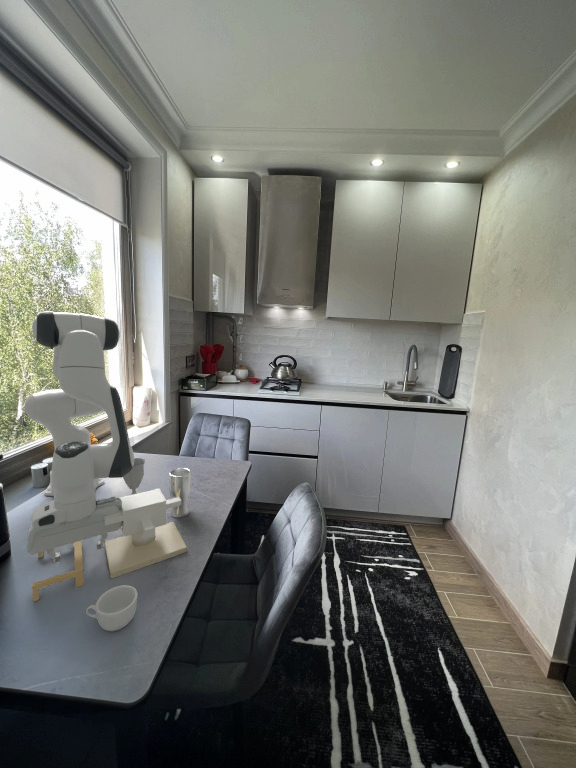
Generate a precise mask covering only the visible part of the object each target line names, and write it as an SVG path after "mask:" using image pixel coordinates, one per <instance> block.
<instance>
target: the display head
mask: <svg viewBox="0 0 576 768" xmlns="http://www.w3.org/2000/svg"><path fill="white" fill-rule="evenodd" d="M136 493H137V492H136ZM119 498H120V499H121V501H122V505H121V510H120V512H119V513H116V514H112V515H106V516H104V523H105V526H106V525H110V524H113V523H117V522H121V521H122V526H121V527H120V528H121V531H122V535H123V536H119V537H115V538H112V539H108V540H105V541H104V547H105V553H106V554H105V555H106V560H107V564H108V565H107V566H108V571H109V577H110V579H115V578H117V577H120V576H123V575H126V574H128V573H132V572H134V571H137V570H139V569H142V568H145V567H148V566H151V565H154V564H156V563H159V562H162V561H165V560H168V559H170V558H172V557H175V556H178V555H181V554H185V553H187V550H188V548H187V546H186V542H185V541H184V540H183V538H182V536H181V533H180V532H179V530H178V528H177V527H176V524H175V522H174V521H170V522H167V510H168V509H172V508H173V507H176V506H180V505H181V499H180V497H177V498H173V499H171V498H169V499H166V498H165V496H164V494H163V493H162V490H161V488H155V489H150V490H147V491H146V490H145V491H143V492H142V491H141V492H138V493H137V494H133V495H131V494H129V495H125V496H120V497H119Z"/></svg>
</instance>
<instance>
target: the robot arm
mask: <svg viewBox="0 0 576 768" xmlns="http://www.w3.org/2000/svg"><path fill="white" fill-rule="evenodd" d="M31 332H32V334H33V336H34V338H35V340H36V342H37V343H38V344H40V345H41V346H43V347H45V348H49V349H50V350H53V361H52V362H53V365H52V372H53V373H52V374H53V376H54V378H55V379H57V380H58V384H59V387H60V388H56V389H45V390H41V391H37V392H34V393H31V394H30V395H28V397H26V399H25V401H24V405H23V406H24V407H23V408H24V411H25V414H26V416H27V417H28V418H29V419H30V420H31V421H34V422H36V423H39V424H40V425H42V426H43V427H45V428H46V430H48V431H49V433H50V434H51V437H52V441H53V446H54V451H53V455H52V464H51V470H50V471H49V485H48V486H47V488H45V491H44V494H43V495H44V496H49V497H50V496H51V497H53V500H49V501H48V502H46V503H44V504H42V505H39V506H37V507H36V508H35V509H34V510H33V512H32V515H31V523H30V524H29V529H28V535H27V543H26V549H27V551H26V552H27V553H28V554H30V555H36V554H38V553H39V552H43V553H44V552H45V551H46V555H48V556H49V557H50V558H52V563H53V564H57V563H59V562H61V551H58V552H56V551H55V549H57V548H60V547H63V546H67V545H70V544H74V542H78V541H81V542H82V541H84V540H87V539H91V538H95V537H98V536H100V539H99V540H95V542H96V550H97V551H98V550H102V549H104V544H105V541H106V540H107V538H108V533H113V532H116V531H119V530H120V529H121V528H122V527H121V526H122V521H121V522H117V523H113V524H110V525H106V526H105V523H104V516H106V515H112V514H116V513H119V512H120V510H121V505H122V501H121V499H120V497H116V496H111V497H108V498H103V499H97V495H96V494H97V491H96V488H98V487H100V486H102V485H104V484H105V480H104V479H106V478H108V479H114V478H115V479H118V478H120V479H121V478H122V479H123V476H125V475H126V474H127V473H129V472H130V471H131V470H132V468H133V465H134V458H135V453H134V450H133V448H132V445H131V442H130V438H129V433H128V428H127V427H128V426H127V423H126V417H125V413H124V410H123V409H124V408H123V404H122V400H121V396H120V394H119V391H118V390H117V389H118V388H117V387H115V386H113V385H111V384H110V383H109V380H108V379H107V376H106V365H105V364H106V362H105V355H104V353H105V352H104V351H110V350H113V349H114V348H116V347H118V346H117V345H118V344H119V341H120V338H121V332H120V328H119V325H118V323H117V322H116V321H115V319H112V318H109V317H106V316H105V317H101V316H97V315H92V314H86V313H74V312H60V311H57V312H54V311H53V310H52V311H51V310H46V311H40V312H38V313H37V314H36V316H35V317H34V320H33V322H32V328H31ZM102 412H105V413H106V415H107V419H108V423H109V429H110V433H111V438H112V441H111V442H106V443H93V444H92V443H91V433H90V431H89V430H88V429H87V428H85V427H83V426H80V425H76V424H72V421H71V420H72V419H74V418H81V417H87V416H88V417H89V416H95V415H98V414H100V413H102Z"/></svg>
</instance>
